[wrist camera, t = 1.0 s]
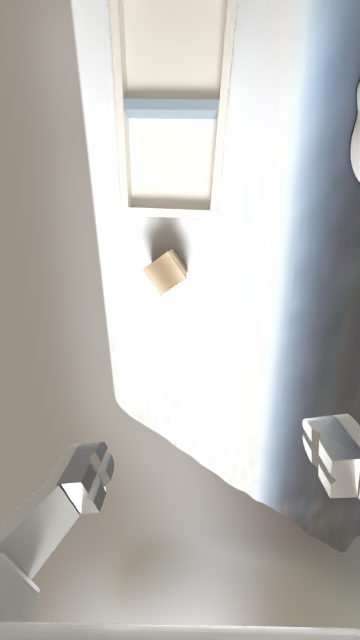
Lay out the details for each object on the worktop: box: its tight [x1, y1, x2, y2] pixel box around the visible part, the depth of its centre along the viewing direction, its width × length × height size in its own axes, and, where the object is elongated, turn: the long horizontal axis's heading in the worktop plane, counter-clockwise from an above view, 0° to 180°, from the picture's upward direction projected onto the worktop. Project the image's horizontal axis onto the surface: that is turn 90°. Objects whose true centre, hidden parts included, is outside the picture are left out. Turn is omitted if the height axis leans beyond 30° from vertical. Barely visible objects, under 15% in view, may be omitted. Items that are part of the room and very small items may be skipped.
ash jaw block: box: [143, 248, 188, 295], centre depth 33 cm, size 4×4×7 cm
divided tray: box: [109, 0, 237, 220], centre depth 27 cm, size 25×14×3 cm, turn 178°
